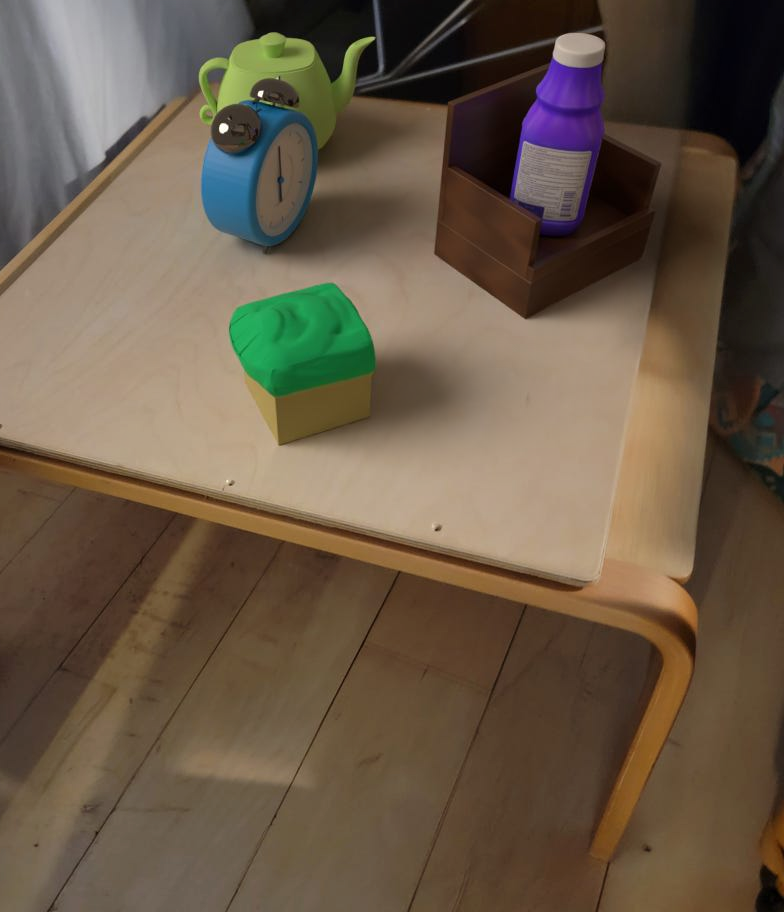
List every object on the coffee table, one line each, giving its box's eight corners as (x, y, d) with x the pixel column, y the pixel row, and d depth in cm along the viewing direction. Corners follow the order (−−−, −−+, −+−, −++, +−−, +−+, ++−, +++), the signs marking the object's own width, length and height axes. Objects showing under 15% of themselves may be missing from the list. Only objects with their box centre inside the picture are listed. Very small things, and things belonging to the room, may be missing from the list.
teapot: (296, 101, 115) (292, -4, 106) (373, 141, 108) (377, 32, 98) (193, 145, 108) (179, 37, 99) (268, 191, 101) (260, 79, 91)
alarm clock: (256, 273, 91) (244, 131, 80) (205, 256, 93) (187, 116, 82) (321, 208, 98) (318, 71, 87) (272, 194, 100) (264, 59, 89)
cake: (224, 382, 80) (212, 290, 73) (335, 350, 82) (335, 257, 75) (262, 457, 74) (254, 365, 66) (381, 420, 76) (386, 327, 69)
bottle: (586, 213, 89) (627, 32, 76) (578, 245, 85) (620, 61, 73) (511, 201, 91) (540, 22, 78) (501, 232, 87) (529, 50, 74)
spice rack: (642, 258, 91) (687, 103, 79) (524, 319, 85) (555, 162, 73) (547, 201, 98) (576, 52, 86) (433, 254, 92) (447, 101, 80)
